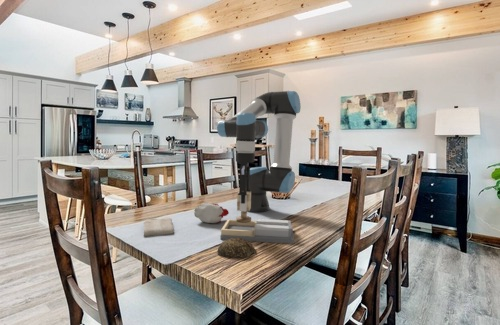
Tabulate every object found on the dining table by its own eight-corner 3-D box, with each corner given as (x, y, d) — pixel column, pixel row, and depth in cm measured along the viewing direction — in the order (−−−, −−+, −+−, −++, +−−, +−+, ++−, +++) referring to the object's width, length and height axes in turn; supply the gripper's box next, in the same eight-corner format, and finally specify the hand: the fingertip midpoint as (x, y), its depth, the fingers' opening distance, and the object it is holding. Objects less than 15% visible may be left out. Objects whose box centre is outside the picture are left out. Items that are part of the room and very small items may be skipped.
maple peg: (235, 222, 114) (235, 193, 113) (237, 218, 120) (238, 190, 119) (250, 223, 114) (250, 194, 113) (251, 219, 120) (252, 191, 119)
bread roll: (212, 255, 96) (212, 241, 96) (228, 243, 108) (228, 230, 107) (248, 262, 92) (248, 247, 91) (260, 248, 103) (261, 235, 103)
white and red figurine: (192, 221, 132) (217, 219, 142) (206, 226, 124) (232, 224, 134) (194, 201, 132) (219, 201, 142) (209, 205, 124) (234, 205, 134)
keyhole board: (220, 239, 111) (220, 226, 110) (228, 226, 126) (228, 215, 126) (293, 243, 107) (294, 231, 107) (292, 230, 123) (292, 219, 123)
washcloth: (171, 222, 132) (171, 215, 132) (174, 235, 116) (174, 227, 115) (143, 224, 128) (143, 217, 128) (143, 238, 112) (143, 230, 111)
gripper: (239, 151, 124) (238, 204, 126) (232, 152, 106) (231, 214, 108) (256, 151, 123) (255, 204, 125) (252, 153, 105) (250, 215, 107)
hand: (244, 209), depth 117 cm, fingers closed on maple peg, 5 cm apart
